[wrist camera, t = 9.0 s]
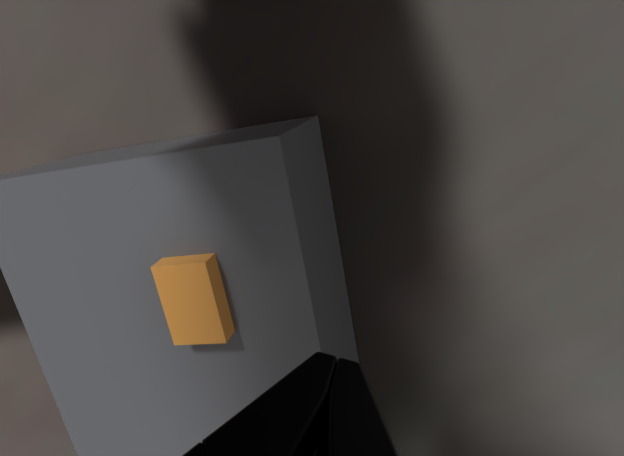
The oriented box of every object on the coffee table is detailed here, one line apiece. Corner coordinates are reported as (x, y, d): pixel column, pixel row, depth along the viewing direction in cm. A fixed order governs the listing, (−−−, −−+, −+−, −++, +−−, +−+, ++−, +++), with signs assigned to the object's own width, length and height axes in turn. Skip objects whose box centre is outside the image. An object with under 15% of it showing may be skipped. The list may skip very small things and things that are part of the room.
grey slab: (78, 154, 22) (-55, 190, 16) (317, 115, 19) (271, 139, 13) (189, 493, 28) (126, 614, 22) (382, 503, 25) (372, 646, 19)
